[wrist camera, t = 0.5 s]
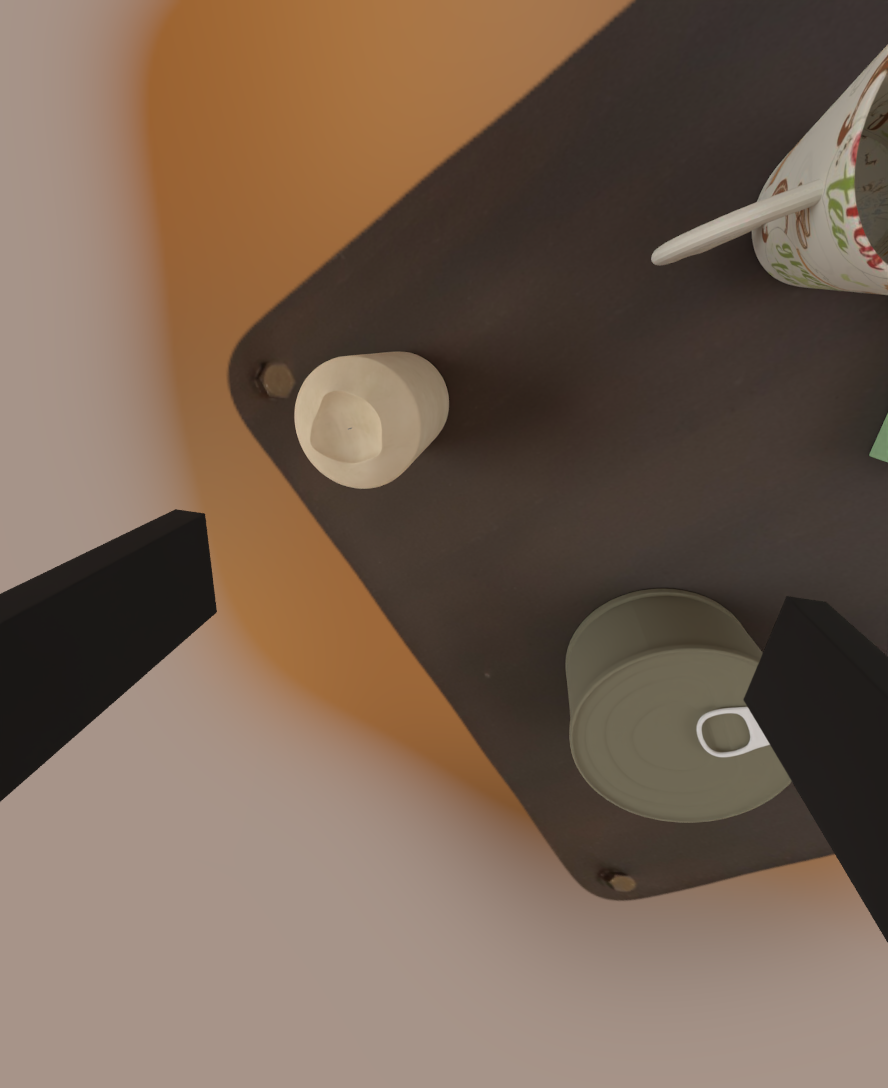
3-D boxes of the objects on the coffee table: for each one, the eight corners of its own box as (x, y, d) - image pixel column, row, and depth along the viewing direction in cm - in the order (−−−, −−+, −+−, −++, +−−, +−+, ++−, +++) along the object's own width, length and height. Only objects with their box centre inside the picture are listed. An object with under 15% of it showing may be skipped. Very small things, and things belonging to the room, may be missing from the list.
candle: (375, 459, 30) (308, 511, 21) (344, 367, 28) (256, 381, 19) (461, 435, 28) (430, 480, 19) (434, 338, 27) (385, 336, 18)
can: (535, 618, 32) (537, 685, 26) (728, 558, 29) (784, 619, 22) (595, 751, 36) (609, 838, 30) (774, 712, 32) (833, 802, 26)
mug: (933, 276, 22) (1211, 232, 13) (646, 366, 26) (710, 381, 16) (935, 54, 20) (1287, -193, 10) (614, 187, 23) (670, 87, 14)
